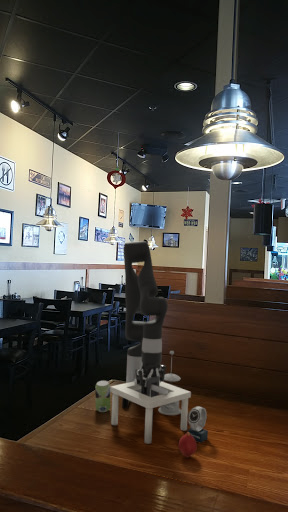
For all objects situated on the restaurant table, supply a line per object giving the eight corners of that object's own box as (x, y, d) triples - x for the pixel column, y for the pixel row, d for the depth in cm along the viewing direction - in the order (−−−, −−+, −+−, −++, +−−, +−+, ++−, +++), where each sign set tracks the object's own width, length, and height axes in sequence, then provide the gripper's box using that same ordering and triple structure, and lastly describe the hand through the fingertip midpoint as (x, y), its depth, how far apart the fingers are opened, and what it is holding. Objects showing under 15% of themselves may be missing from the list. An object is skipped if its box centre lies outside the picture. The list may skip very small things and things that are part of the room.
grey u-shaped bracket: (152, 402, 154) (153, 373, 154) (158, 405, 152) (159, 376, 152) (141, 405, 150) (142, 376, 151) (147, 408, 148) (148, 378, 148)
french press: (174, 417, 161) (177, 354, 162) (149, 410, 168) (152, 350, 168) (185, 409, 170) (187, 350, 170) (161, 403, 176) (163, 346, 176)
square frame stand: (149, 411, 166) (151, 372, 166) (189, 429, 150) (191, 386, 150) (108, 423, 152) (110, 381, 152) (147, 444, 136) (149, 397, 136)
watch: (184, 439, 141) (185, 408, 141) (196, 433, 147) (198, 402, 147) (198, 445, 137) (199, 412, 137) (210, 437, 143) (211, 406, 143)
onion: (176, 452, 131) (177, 428, 131) (194, 452, 131) (195, 428, 131) (179, 461, 125) (180, 435, 125) (198, 461, 125) (198, 435, 126)
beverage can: (111, 408, 168) (112, 379, 168) (108, 414, 161) (109, 384, 161) (96, 407, 169) (97, 378, 169) (92, 413, 161) (94, 383, 162)
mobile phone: (129, 397, 169) (131, 385, 184) (122, 396, 169) (124, 385, 184) (128, 409, 169) (130, 396, 184) (121, 408, 170) (124, 396, 185)
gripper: (158, 345, 159) (157, 388, 159) (130, 350, 149) (128, 395, 149) (172, 349, 153) (170, 394, 153) (144, 354, 144) (142, 401, 144)
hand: (150, 394), depth 151 cm, fingers closed on grey u-shaped bracket, 5 cm apart
